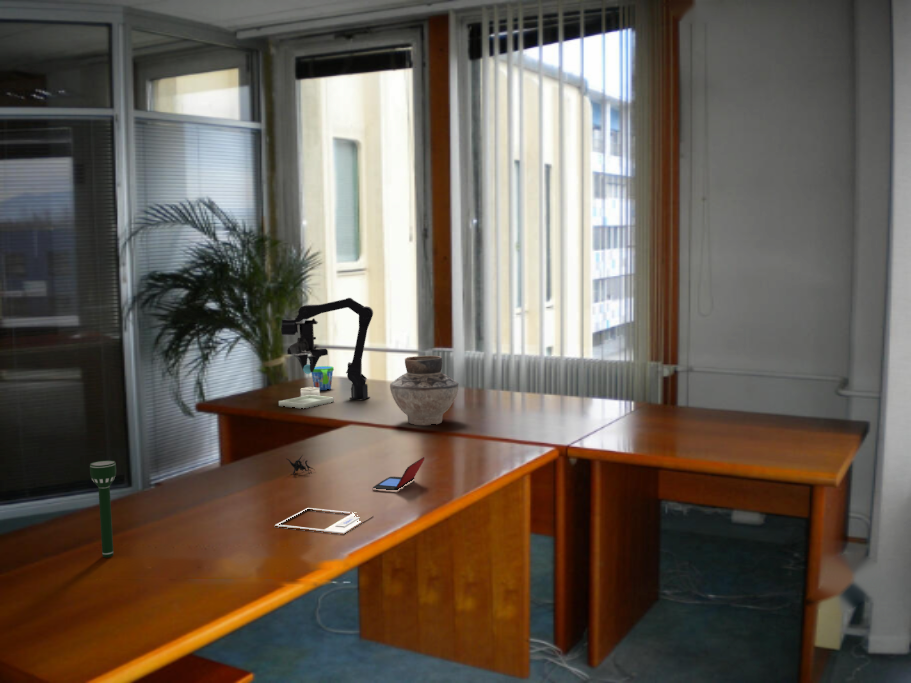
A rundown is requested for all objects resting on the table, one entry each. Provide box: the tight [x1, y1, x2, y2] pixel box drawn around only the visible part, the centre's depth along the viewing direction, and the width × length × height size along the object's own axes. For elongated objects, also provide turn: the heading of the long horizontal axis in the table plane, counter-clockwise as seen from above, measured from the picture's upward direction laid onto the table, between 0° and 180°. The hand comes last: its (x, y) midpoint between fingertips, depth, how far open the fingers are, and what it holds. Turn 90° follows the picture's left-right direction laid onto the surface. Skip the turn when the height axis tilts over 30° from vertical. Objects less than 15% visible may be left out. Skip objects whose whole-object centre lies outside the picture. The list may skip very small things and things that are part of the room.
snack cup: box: [310, 365, 335, 391], centre depth 415 cm, size 16×10×10 cm
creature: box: [286, 455, 314, 476], centre depth 259 cm, size 8×5×8 cm
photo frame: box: [274, 507, 361, 534], centre depth 213 cm, size 15×1×18 cm
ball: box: [302, 363, 311, 375], centre depth 385 cm, size 4×4×4 cm
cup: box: [300, 386, 321, 397], centre depth 392 cm, size 8×8×4 cm
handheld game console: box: [372, 457, 425, 490], centre depth 243 cm, size 12×11×7 cm
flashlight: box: [89, 459, 117, 559], centre depth 190 cm, size 5×5×20 cm
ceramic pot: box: [389, 355, 460, 426], centre depth 332 cm, size 25×25×24 cm
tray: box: [278, 395, 335, 410], centre depth 376 cm, size 14×18×2 cm
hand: (308, 371), depth 385 cm, fingers closed on ball, 4 cm apart
